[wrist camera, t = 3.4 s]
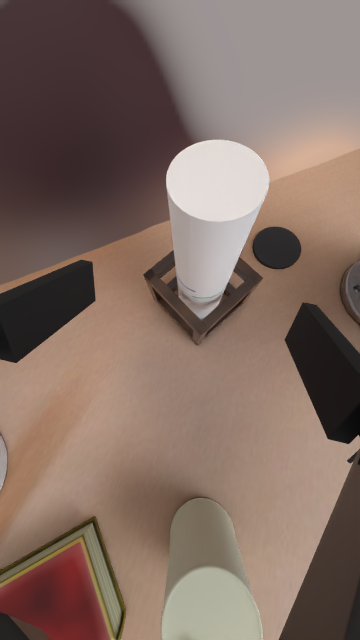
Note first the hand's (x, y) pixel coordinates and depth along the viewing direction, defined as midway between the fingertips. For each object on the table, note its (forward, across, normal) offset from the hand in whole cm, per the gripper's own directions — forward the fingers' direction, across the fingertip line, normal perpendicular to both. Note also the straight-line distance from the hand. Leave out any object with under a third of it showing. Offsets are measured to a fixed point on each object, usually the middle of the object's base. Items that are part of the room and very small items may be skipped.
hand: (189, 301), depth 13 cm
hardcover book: (-10, -12, -44) cm, 47 cm away
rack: (+23, 0, -11) cm, 26 cm away
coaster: (+33, +13, -1) cm, 35 cm away
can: (-1, +8, -35) cm, 36 cm away
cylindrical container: (+24, 0, -11) cm, 26 cm away
